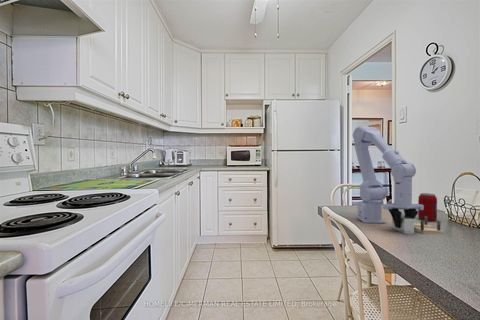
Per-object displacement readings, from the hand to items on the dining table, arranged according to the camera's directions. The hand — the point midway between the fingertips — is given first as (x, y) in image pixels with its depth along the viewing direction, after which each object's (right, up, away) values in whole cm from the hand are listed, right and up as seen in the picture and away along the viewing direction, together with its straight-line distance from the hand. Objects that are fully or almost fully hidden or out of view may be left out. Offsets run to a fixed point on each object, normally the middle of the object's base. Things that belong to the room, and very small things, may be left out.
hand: (402, 227), depth 93 cm
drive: (0, -2, 0) cm, 2 cm away
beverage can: (+22, -1, +15) cm, 27 cm away
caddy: (+10, -1, +1) cm, 10 cm away
